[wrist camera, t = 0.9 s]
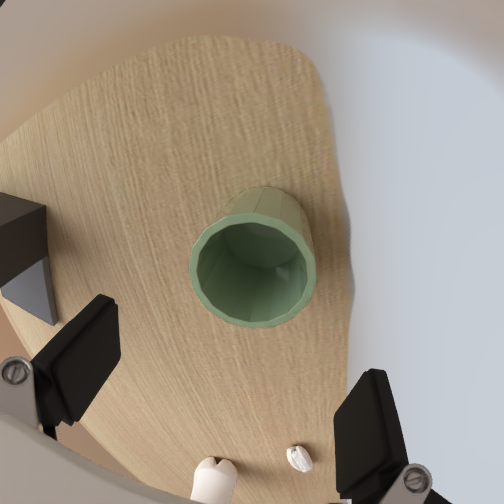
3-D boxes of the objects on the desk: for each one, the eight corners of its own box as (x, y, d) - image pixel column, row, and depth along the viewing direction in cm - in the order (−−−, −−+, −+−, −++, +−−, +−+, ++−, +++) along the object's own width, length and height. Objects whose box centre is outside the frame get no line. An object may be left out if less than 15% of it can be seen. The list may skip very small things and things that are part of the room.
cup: (230, 176, 22) (199, 199, 14) (319, 200, 22) (334, 234, 14) (213, 257, 25) (182, 310, 17) (294, 278, 24) (293, 339, 17)
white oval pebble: (303, 439, 34) (303, 455, 31) (315, 460, 37) (315, 474, 34) (282, 442, 35) (281, 458, 32) (297, 463, 37) (296, 476, 35)
